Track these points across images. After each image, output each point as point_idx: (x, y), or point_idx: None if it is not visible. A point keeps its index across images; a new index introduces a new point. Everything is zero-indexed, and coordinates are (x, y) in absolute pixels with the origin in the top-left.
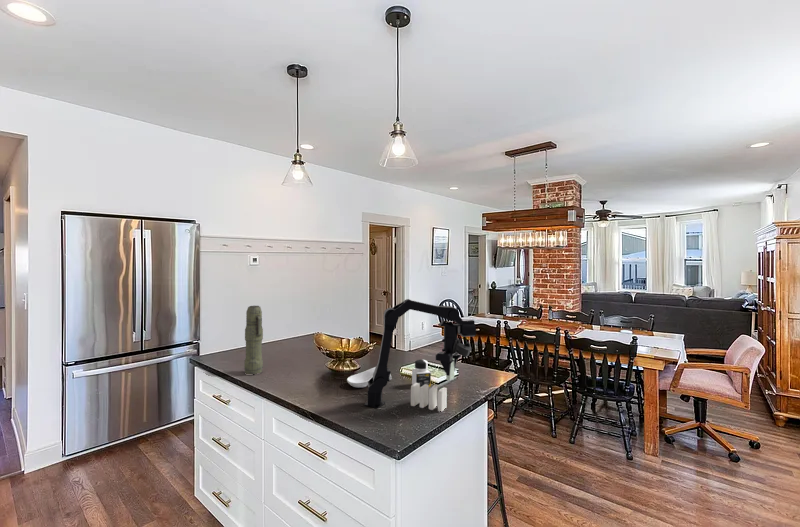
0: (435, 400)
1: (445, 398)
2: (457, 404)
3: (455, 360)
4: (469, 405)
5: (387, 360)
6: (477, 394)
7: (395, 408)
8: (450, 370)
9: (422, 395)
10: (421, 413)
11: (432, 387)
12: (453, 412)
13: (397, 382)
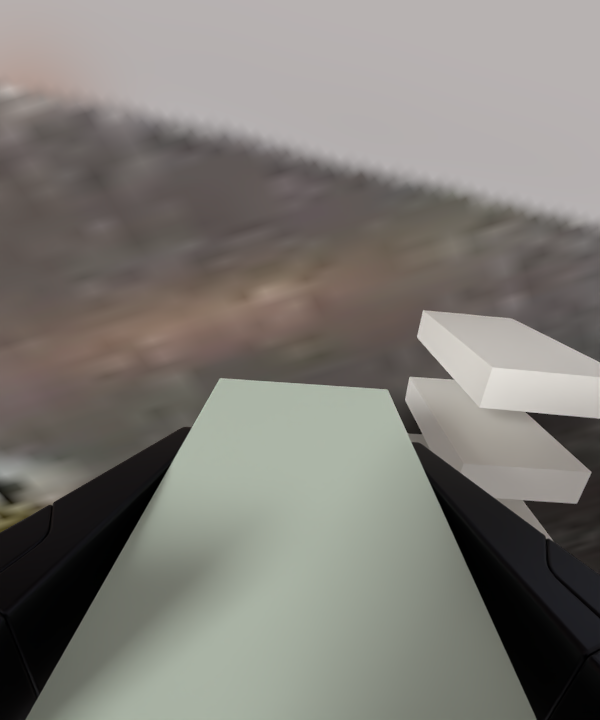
0: (459, 401)
1: (479, 335)
2: (325, 256)
3: (4, 640)
4: (304, 153)
5: None
6: (6, 159)
7: None
8: (403, 485)
9: (517, 500)
10: (568, 420)
11: (513, 491)
12: (501, 236)
13: None
